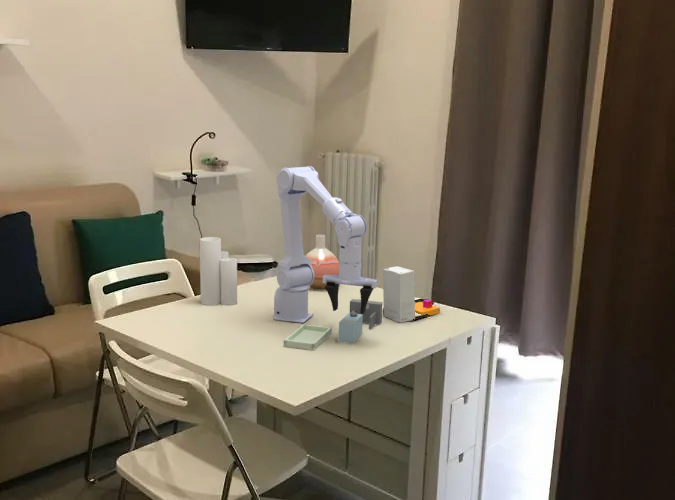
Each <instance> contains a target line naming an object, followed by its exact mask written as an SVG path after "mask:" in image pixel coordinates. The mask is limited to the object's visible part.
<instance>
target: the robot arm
mask: <svg viewBox="0 0 675 500" xmlns="http://www.w3.org/2000/svg"><path fill="white" fill-rule="evenodd" d="M276 183H277V194H278V197H279V204H280V205H279V206H280V214H281V215H280V216H281V225H282V235H283V236H282V237H283V244H284V245H283V246H284V257H283V258H282V259H281V260H280V261H279V262H278V264H277V274H276V281H277V284H278V287H277V288H276V290H275V292H274V298H273V305H274V307H273V310H274V312H273V318H272V319H273V320H274V321H284V322H293V323H301V324H305V322H306V321H308V320H309V319H310V318H311V317H313V316H314V315H313V313H309V289H311V287H310V285H311V284H312V283H313V281H314V276H315V275H314V271H313V268H312V265H311V260H310V259H309V258H307V257H306V256H305V255H306V254H305V253H304V244H303V243H304V242H303V234H302V221H301V212H300V199H302V197H303V196H304V195H305V194H307V193H308V194H309V195H310V196H311V197H313V198H314V199H315V200H316V201H317V203H318V204H319V205H321V206H322V209H321V211H322V213H323V214H324V216H325V217H326V218H327V219H328V221H330V222H331V223H332V225H333V226H334V230H335V234H336V236H337V237H336V238H337V243H338V245H339V259H338V261H339V275H324V276H323V283H327V284H326V286H325V290H326V292H327V294H328V296H329V299H330V302H331V306H332V311H333V312H336V311H337V310H338V309H339V292H340V291H339V290H340V285H343V286H344V285H346V286H356V287H362V288H360V289H359V292H360V294H359V295H360V300H361V309H360V312H361V314H364V313H365V310H366V305H367V302H368V301H369V299H370V297H371V295H372V293H373V291H374V289H376V288H378V279H375V278H369V277H366V276H365V277H364V276H361V275H362V244H363V243H362V240H363V237H364V236H365V235H366V233H367V230H368V225H367V221H366V220H365V218H364V216H363V215H361V214H356V213H353V211H351V209H350V208H348V207H347V205H346V204H345V203H344V202H343V199H341V198H340V197H335V196H334V197H333V196H332V195H331V194H330V192H329V191H328V190H327V189H326V186H324V185H323V183H322V182H321V180H320V178H319V172H318V171H317V170H316V169H315V168H314V167H313V166H311V165H306V166H295V167H283V168H281V169H280V170H279V173H278V174H277V175H276Z"/></svg>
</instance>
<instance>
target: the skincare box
mask: <svg viewBox="0 0 675 500" xmlns="http://www.w3.org/2000/svg"><path fill="white" fill-rule="evenodd" d="M382 270H383V271H382V272H383V273H382V274H383V275H382V276H383V277H382V278H383V280H382V284H383V288H382V289H383V317H384V318H387V319H390V320H393V321H395V322H398V323H400V324H401V323H403V322H404V323H405V322H410V321H414V320H415V319H416V316H415V303H416V302H415V299H416V298H415V295H416V294H415V293H416V292H415V289H416V288H415V287H416V286H415V284H416V283H415V281H416V280H415V278H416V277H415V273H416V271H415V270H413V269H408V268H404V267H401V266H398V265H397V266H396V265H395V266H392V267H391V266H390V267H386V268H383V269H382ZM413 319H414V320H413Z"/></svg>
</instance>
